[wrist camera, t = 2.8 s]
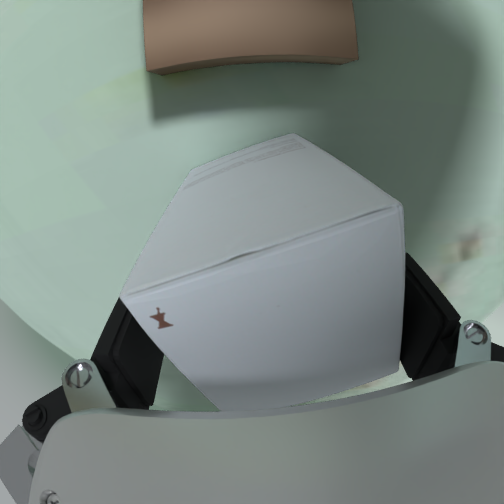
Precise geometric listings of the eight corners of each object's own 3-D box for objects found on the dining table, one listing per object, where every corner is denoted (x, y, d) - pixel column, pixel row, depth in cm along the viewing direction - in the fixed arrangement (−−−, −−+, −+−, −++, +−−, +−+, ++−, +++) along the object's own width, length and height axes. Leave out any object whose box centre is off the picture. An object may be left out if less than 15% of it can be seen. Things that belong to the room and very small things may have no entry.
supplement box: (230, 259, 21) (223, 422, 10) (188, 167, 17) (106, 295, 6) (326, 228, 20) (401, 376, 9) (298, 129, 16) (408, 197, 5)
